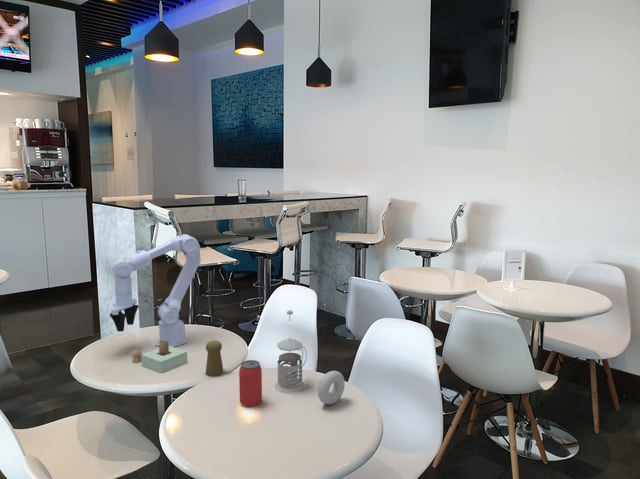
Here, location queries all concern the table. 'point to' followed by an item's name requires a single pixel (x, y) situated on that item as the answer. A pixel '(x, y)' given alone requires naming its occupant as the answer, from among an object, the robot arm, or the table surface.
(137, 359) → the short pin
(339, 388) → the donut
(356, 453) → the table surface
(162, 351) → the long pin
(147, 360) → the collar block
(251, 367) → the beer can
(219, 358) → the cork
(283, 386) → the french press
